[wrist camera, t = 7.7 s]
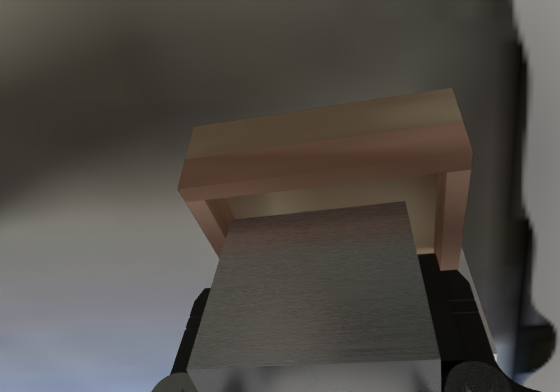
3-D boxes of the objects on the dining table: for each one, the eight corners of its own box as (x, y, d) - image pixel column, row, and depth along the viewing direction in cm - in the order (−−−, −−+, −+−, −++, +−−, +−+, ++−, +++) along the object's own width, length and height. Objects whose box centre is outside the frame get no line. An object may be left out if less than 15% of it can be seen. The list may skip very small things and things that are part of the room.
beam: (437, 396, 34) (447, 456, 32) (320, 398, 36) (321, 455, 34) (470, 83, 13) (508, 190, 10) (179, 127, 15) (150, 227, 12)
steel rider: (268, 329, 16) (246, 482, 12) (231, 219, 13) (186, 370, 9) (413, 321, 15) (442, 485, 11) (405, 201, 12) (440, 359, 8)
